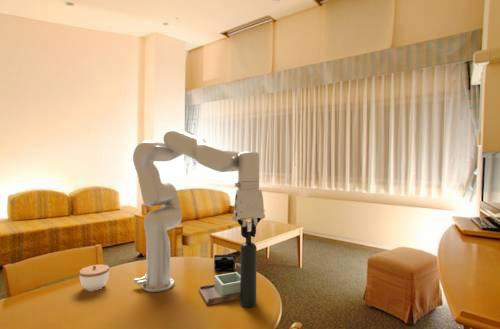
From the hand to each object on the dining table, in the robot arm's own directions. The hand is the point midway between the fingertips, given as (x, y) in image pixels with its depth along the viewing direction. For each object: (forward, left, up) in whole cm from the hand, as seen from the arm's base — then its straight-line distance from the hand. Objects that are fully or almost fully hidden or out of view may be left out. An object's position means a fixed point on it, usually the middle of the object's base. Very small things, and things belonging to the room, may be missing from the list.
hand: (248, 236), depth 105 cm
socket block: (-3, +11, -23) cm, 26 cm away
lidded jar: (-52, +37, -25) cm, 68 cm away
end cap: (+3, +35, -25) cm, 43 cm away
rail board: (-5, +11, -25) cm, 28 cm away
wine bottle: (0, 0, -25) cm, 25 cm away
